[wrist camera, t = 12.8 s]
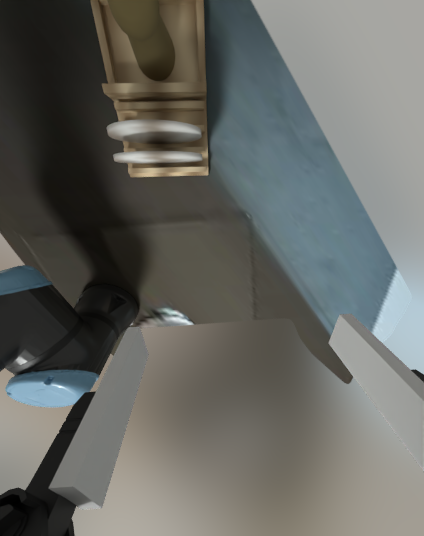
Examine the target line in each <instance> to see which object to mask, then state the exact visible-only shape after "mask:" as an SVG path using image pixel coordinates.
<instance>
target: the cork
mask: <svg viewBox="0 0 424 536" xmlns="http://www.w3.org/2000/svg"><path fill="white" fill-rule="evenodd" d="M107 1H108V5H109V8H110V10H111V13H112V15H113V17H114V19H115V21H116V22H117V24H118V25H119V27H120V28H121V30H122V31H123V32H125V33H126V34H127V35H128V38H129V41H130V44H131V47H132V49H133V52H134V55H135V58H136V60H137V63H138V66H139V68H140V69H141V71H142V72H143V74H145V75H146V76H147V77H148V78H149V79H151V80H154V81H162V80H165V79H167V78H168V77H169V75H170V74H171V73H172V70H173V68H174V64H175V48H174V45H173V42H172V39H171V37H170V35H169V33H168V30H167V28H166V26H165V24H164V22H163V20H162V18H161V15H160V13H159V10H160V9H159V0H107Z"/></svg>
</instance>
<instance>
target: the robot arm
mask: <svg viewBox="0 0 424 536" xmlns="http://www.w3.org/2000/svg"><path fill="white" fill-rule="evenodd" d="M52 284H53V283H52V282H51V281H48V280H47V279H46V278H45V277H44V276H43V275H42V274H41V273H40V272H39V271H38V270H37V269H36V268H34V267H31V266H26V265H23V266H17V267H13V268H10V269H6V270H2V271H0V371H1V370H3V369H4V368H6V369H7V370H9V371H10V372H12V373H13V374H14V375H15V376H14V377H12V378H11V379H10V380H9V382H8V384H7V386H6V392H7V395H8V396H10V397H11V398H12V399H14V400H16V401H19V402H21V403H24V404H28V405H33V406H40V407H63V406H69V405H72V404H74V406H73V407H72V409H71V411H70V413H69V414H68V416H67V418H66V421H65V422H64V423H63V425H62V427H61V429H60V430H59V434H57V436H56V438H55V439H54V441H53V443H52V445H51V447H50V448H49V450H48V452H47V454H46V455H45V457H44V459H43V461H42V463H41V464H40V466H39V468H38V470H37V471H36V473H35V475H34V477H33V479H32V480H31V482H30V484H29V486H28V487H27V488H26V490H23V489H21V488H15V489H11V490H8V491H7V492H5V493H4V494H2V495H0V536H74V527H73V521H72V519H71V518H72V516H73V513H74V511H75V508H76V506H77V507H79V508H80V509H82V510H84V509H96V508H102V506H103V503H104V499H105V496H106V493H107V489H108V486H109V483H110V480H111V477H112V473H113V470H114V466H115V463H116V460H117V457H118V453H119V450H120V447H121V444H122V440H123V437H124V434H125V431H126V427H127V424H128V421H129V417H130V414H131V410H132V407H133V404H134V401H135V398H136V394H137V391H138V388H139V384H140V381H141V378H142V375H143V371H144V368H145V365H146V361H147V358H148V351H147V348H146V345H145V342H144V339H143V336H142V332H141V330H140V327H130V326H131V325H132V324H133V323H134V321H135V319H136V317H137V314H138V306H137V303H136V301H135V300H134V298H133V297H132V296H131V295H130V294H129V293H128V292H126V291H125V290H123V289H121V288H119V287H116V286H113V285H107V284H100V285H94V286H92V287H89V288H88V289H87V290H85V291H84V292H83V293H82V294H81V295H80V297H79V298H78V300H77V302H76V305H75V307H74V309H73V307H72V306H71V305H70V304H69V303H68V302H67V301H66V300H65V298H64V297H63V296H62V295H61V294H60V293H59V292H58V290H57V289H56V288H55V287H54V286H53V285H52ZM126 329H127V330H126ZM125 330H126V332H125ZM124 332H125V334H124V336H123V338H122V340H121V342H120V344H119V346H118V348H117V350H116V352H115V354H114V356H113V359H112V361H111V363H110V365H109V367H108V369H107V371H106V373H105V375H104V377H103V379H102V381H101V383H100V385H99V387H98V389H97V391H96V392H90V390H91V388H92V387H93V385H94V383H95V382H96V381H97V380H98V378H99V375H100V373H101V371H102V369H103V367H104V365H105V363H106V361H107V359H108V357H109V355H110V353H111V351H112V349H113V347H114V345H115V343H116V342H117V340H118V338H119V337H120V336H121V335H122V334H123V333H124ZM329 344H330V346H331V347H332V348H333V350H334V351H335V352H336V354H337V355H338V356H339V358H340V359H341V361H342V362H343V363H344V365H345V366H346V367H347V369H348V370H349V371H350V373H351V374H352V375H353V377H354V378H355V379H356V381H357V382H358V384H359V385H360V386H361V388H362V389H363V390H364V391H365V393H366V394H367V396H368V397H369V398H370V400H371V401H372V402H373V404H374V405H375V406H376V408H377V409H378V411H379V412H380V413H381V415H382V416H383V417H384V419H385V420H386V421H387V423H388V424H389V425H390V427H391V428H392V429H393V431H394V432H395V433H396V435H397V436H398V437H399V439H400V440H401V442H402V443H403V444H404V445H405V447H406V448H407V450H408V451H409V452H410V454H411V455H412V456H413V458H414V459H415V461H416V462H417V463H418V465H419V466H420V467H421V469H422V470H423V471H424V375H423V374H422V373H420V372H419V371H417V370H410V369H409V368H408V367H407V366H406V365H405V364H404V363H403V362H402V361H401V360H399V359H398V358H397V357H396V356H395V355H394V354H393V353H392V352H391V351H390V350H389V349H388V348H387V347H386V346H385V345H383V343H382V342H380V341H379V340H378V339H377V338H376V337H375V336H374V335H373V334H372V333H371V332H370V331H369V330H368V329H367V328H366V327H365V326H364V325H362V324H361V323H360V322H359V321H358V320H357V319H356V318H355V317H354V316H353V315H352V314H341V315H339V318H338V320H337V323H336V326H335V328H334V331H333V333H332V336H331V338H330V341H329Z"/></svg>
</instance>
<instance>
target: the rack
mask: <svg viewBox="0 0 424 536" xmlns="http://www.w3.org/2000/svg"><path fill="white" fill-rule="evenodd" d="M90 1H91V6H92V11H93V15H94V20H95V25H96V29H97V34H98V38H99V43H100V48H101V52H102V57H103V61H104V66H105V71H106V75H107V80H108V84H102V87H103V91H104V94H106V95H107V96H108V97H109V98H111V99H112V100H113V101H114V102H115V103H114V106H115V109H116V111H117V115H118V120H119V122H115V123H112V124H110V125H108V126H107V132H108V135H109V137H111V138H113V139H116V140H121V141H123V144H124V148H125V149H124V152H123V153H117V154H114V155H113V157H114V161H115V162H122V163H128V167H129V169H128V171H129V174H130V177H157V176H194V175H208V141H207V106H206V94H207V89H206V67H205V32H204V0H159V9H160V10H159V13H160V15H161V18H162V20H163V22H164V24H165V26H166V28H167V30H168V33H169V35H170V37H171V39H172V42H173V45H174V48H175V64H174V68H173V70H172V73H171V74H170V75H169V77H168V78H167V79H165V80H162V81H154V80H151V79H149V78H148V77H147V76H146V75H145V74H143V72H142V71H141V69H140V68H139V66H138V63H137V60H136V58H135V55H134V52H133V49H132V47H131V44H130V41H129V38H128V35H127V34H126V33H125V32H123V31H122V30H121V28H120V27H119V25H118V24H117V22H116V21H115V19H114V17H113V15H112V13H111V10H110V8H109V5H108V1H107V0H90Z"/></svg>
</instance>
